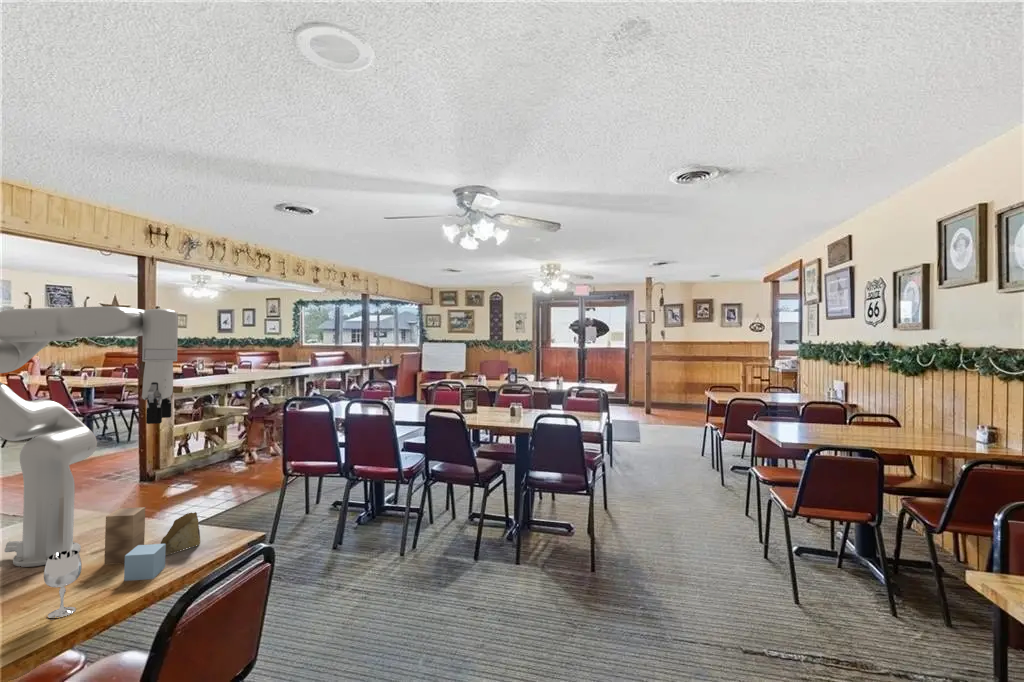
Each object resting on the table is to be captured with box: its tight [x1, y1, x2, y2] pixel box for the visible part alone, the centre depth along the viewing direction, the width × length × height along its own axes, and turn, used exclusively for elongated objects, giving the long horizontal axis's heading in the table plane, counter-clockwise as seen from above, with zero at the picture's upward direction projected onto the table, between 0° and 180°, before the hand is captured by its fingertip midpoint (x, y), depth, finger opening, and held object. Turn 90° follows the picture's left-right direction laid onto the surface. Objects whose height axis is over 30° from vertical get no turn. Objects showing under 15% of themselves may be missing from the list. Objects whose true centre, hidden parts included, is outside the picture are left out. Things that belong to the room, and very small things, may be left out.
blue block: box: [123, 543, 166, 582], centre depth 118 cm, size 6×6×6 cm
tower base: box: [104, 530, 146, 565], centre depth 126 cm, size 6×6×6 cm
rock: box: [160, 511, 201, 556], centre depth 132 cm, size 11×9×10 cm
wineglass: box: [43, 550, 83, 618], centre depth 101 cm, size 6×6×12 cm
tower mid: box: [104, 506, 146, 542], centre depth 126 cm, size 6×6×6 cm
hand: (159, 420), depth 130 cm, fingers open, 9 cm apart
